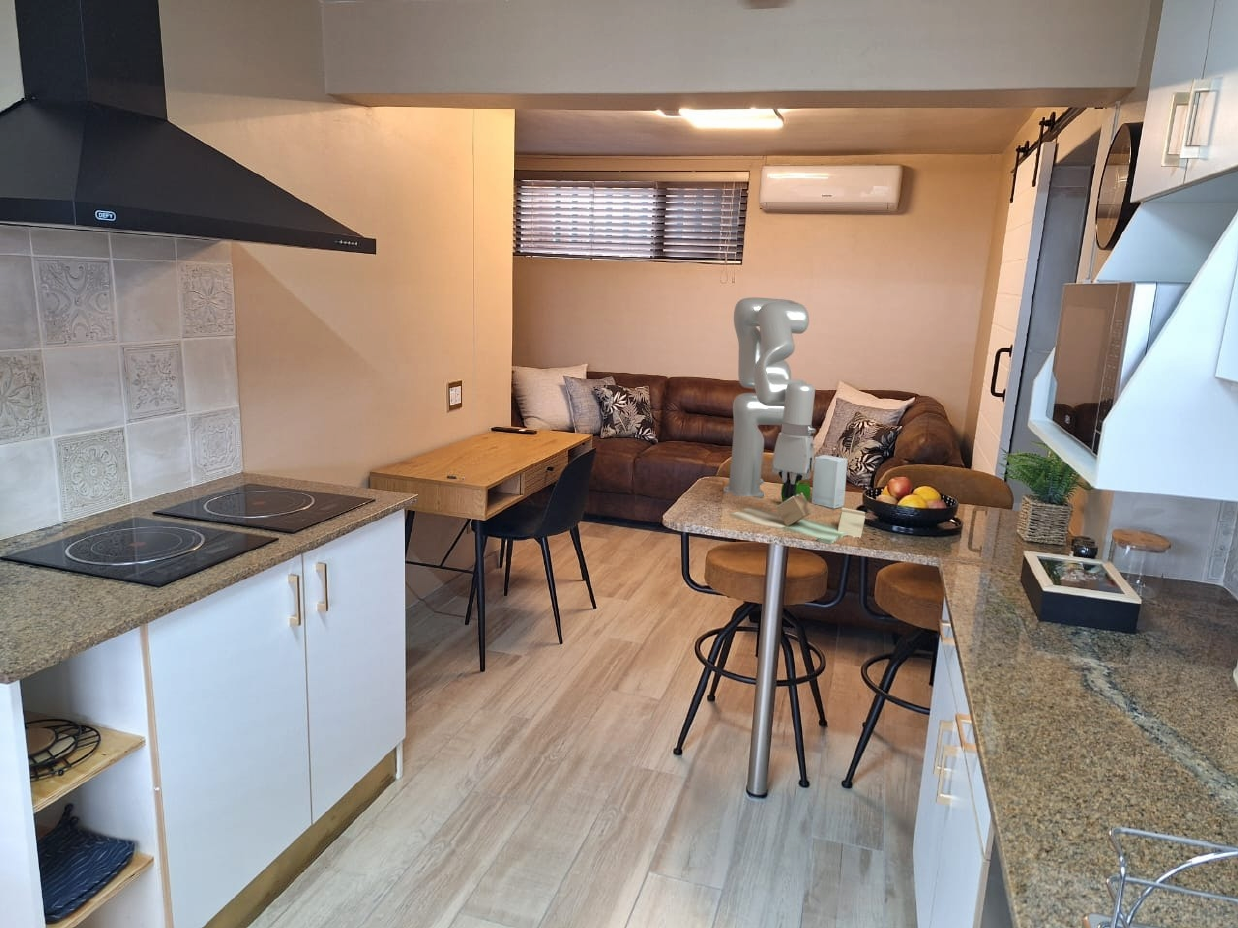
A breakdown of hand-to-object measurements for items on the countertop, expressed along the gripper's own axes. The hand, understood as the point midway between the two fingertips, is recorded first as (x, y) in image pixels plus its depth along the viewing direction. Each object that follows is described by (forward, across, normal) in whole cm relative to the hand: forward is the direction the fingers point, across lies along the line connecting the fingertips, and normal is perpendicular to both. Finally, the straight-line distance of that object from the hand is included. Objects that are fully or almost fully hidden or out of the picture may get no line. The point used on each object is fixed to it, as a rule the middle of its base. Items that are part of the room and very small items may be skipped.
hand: (788, 497), depth 219 cm
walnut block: (+1, 0, 0) cm, 1 cm away
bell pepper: (+8, +6, -19) cm, 22 cm away
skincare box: (+8, +1, -32) cm, 33 cm away
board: (+8, 0, -1) cm, 8 cm away
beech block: (+8, -15, -7) cm, 19 cm away
